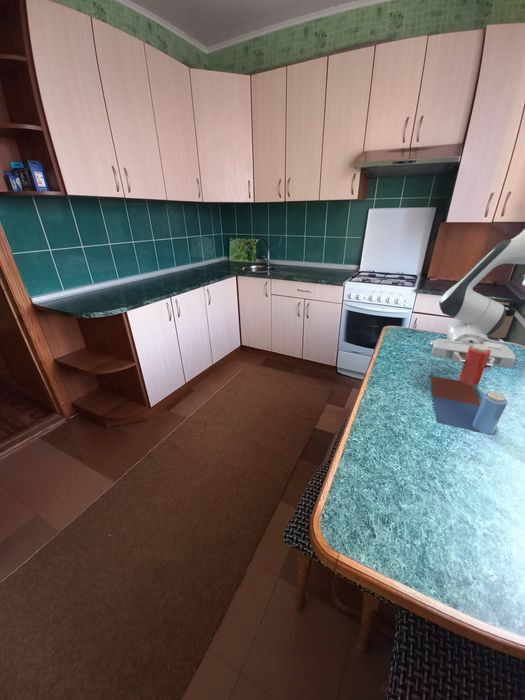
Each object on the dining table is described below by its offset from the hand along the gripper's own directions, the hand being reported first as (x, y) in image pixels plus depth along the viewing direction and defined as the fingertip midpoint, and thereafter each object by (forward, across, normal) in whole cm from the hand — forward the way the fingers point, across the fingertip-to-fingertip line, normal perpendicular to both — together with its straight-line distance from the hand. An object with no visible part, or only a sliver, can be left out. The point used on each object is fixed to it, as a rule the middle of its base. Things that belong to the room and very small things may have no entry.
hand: (475, 365), depth 80 cm
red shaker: (-1, 0, +6) cm, 6 cm away
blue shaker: (+6, +5, +16) cm, 17 cm away
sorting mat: (-5, 0, +16) cm, 17 cm away
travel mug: (-47, +16, +16) cm, 52 cm away
